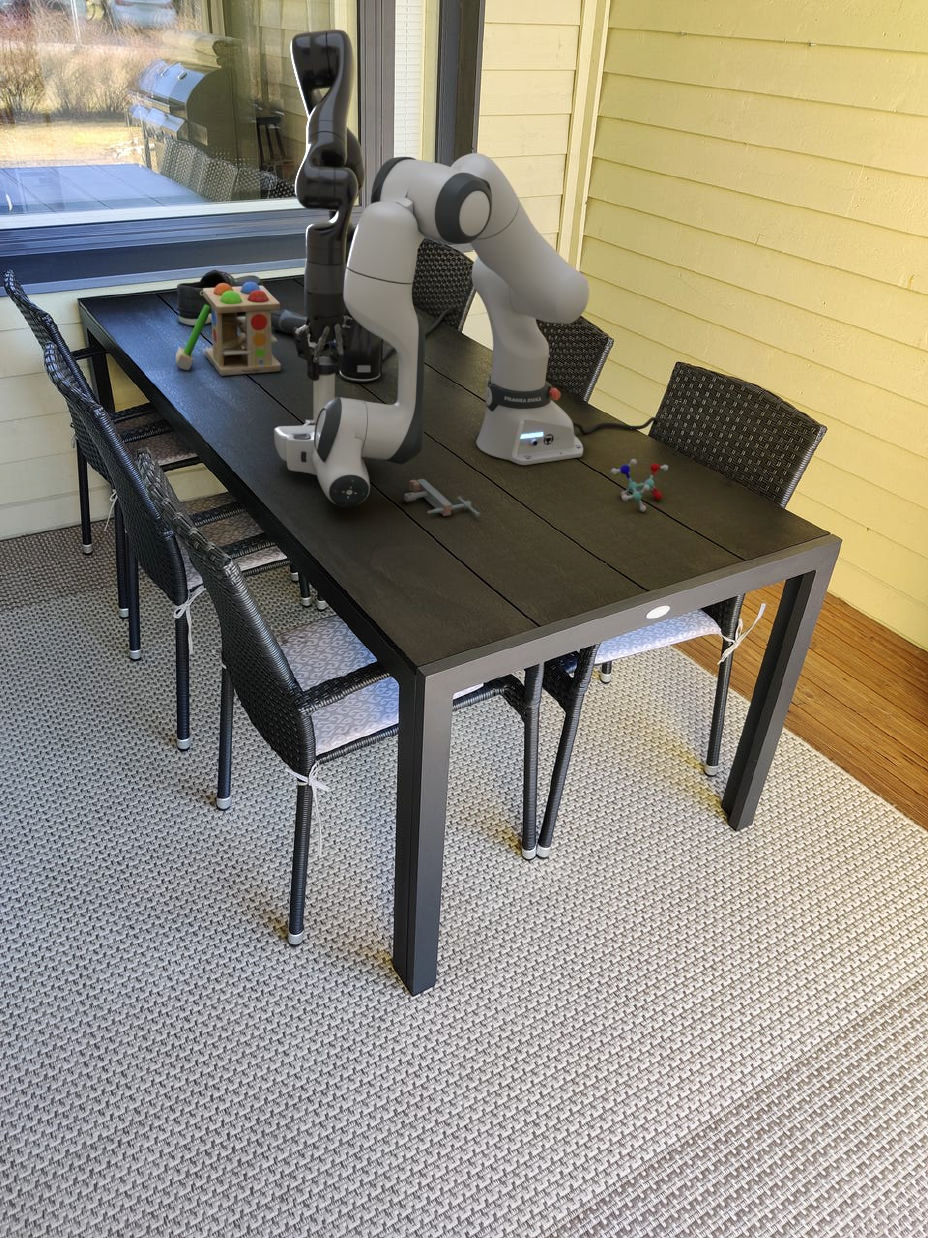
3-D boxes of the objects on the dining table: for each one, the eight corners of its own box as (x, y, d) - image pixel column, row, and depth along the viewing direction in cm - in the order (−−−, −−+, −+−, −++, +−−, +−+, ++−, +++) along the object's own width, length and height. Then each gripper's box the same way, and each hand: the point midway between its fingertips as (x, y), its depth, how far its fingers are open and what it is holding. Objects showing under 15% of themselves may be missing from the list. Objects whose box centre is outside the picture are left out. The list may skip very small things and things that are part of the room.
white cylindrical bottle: (336, 451, 197) (338, 362, 186) (328, 459, 193) (330, 368, 183) (317, 447, 197) (318, 358, 187) (309, 455, 194) (309, 364, 184)
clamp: (395, 482, 182) (442, 474, 187) (394, 493, 183) (441, 484, 188) (433, 519, 172) (482, 509, 176) (432, 530, 173) (481, 520, 178)
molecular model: (670, 504, 181) (654, 452, 180) (621, 519, 184) (605, 468, 183) (677, 496, 191) (662, 447, 190) (631, 511, 195) (616, 462, 194)
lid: (337, 365, 188) (337, 356, 187) (338, 375, 184) (338, 365, 183) (310, 364, 187) (310, 355, 186) (311, 374, 183) (311, 364, 182)
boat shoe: (283, 304, 273) (281, 265, 267) (196, 327, 249) (192, 285, 243) (249, 295, 278) (246, 257, 273) (160, 318, 255) (156, 277, 249)
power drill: (305, 316, 264) (364, 334, 256) (257, 332, 251) (318, 351, 243) (305, 296, 261) (365, 314, 253) (257, 311, 248) (318, 330, 240)
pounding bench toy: (183, 379, 220) (176, 299, 210) (169, 357, 231) (162, 280, 221) (282, 371, 230) (280, 294, 220) (264, 350, 240) (262, 276, 230)
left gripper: (340, 274, 183) (338, 363, 193) (281, 286, 174) (282, 378, 183) (368, 285, 180) (365, 374, 189) (309, 297, 170) (308, 391, 180)
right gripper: (390, 435, 183) (375, 406, 193) (279, 439, 177) (270, 408, 188) (388, 466, 186) (374, 436, 197) (279, 470, 181) (271, 439, 192)
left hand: (324, 376), depth 186 cm, fingers closed on lid, 4 cm apart
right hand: (322, 422), depth 192 cm, fingers closed on white cylindrical bottle, 4 cm apart
